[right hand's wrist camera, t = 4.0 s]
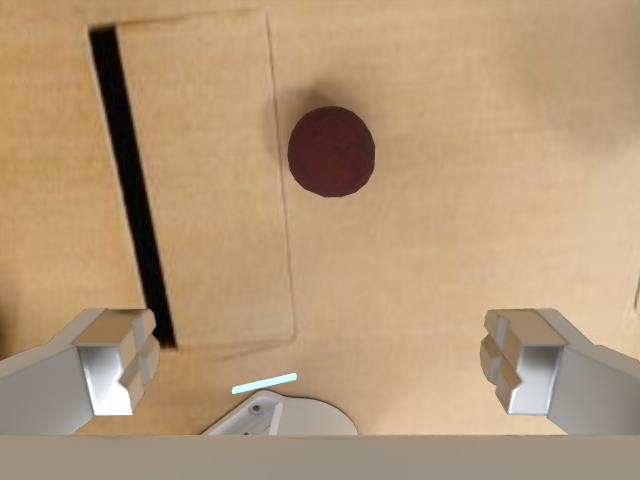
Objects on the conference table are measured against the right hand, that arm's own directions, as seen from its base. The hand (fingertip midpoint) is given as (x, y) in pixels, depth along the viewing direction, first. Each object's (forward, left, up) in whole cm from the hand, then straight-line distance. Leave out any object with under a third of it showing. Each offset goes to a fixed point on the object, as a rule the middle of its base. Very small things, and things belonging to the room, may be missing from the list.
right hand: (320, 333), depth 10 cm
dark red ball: (+1, 0, -30) cm, 30 cm away
